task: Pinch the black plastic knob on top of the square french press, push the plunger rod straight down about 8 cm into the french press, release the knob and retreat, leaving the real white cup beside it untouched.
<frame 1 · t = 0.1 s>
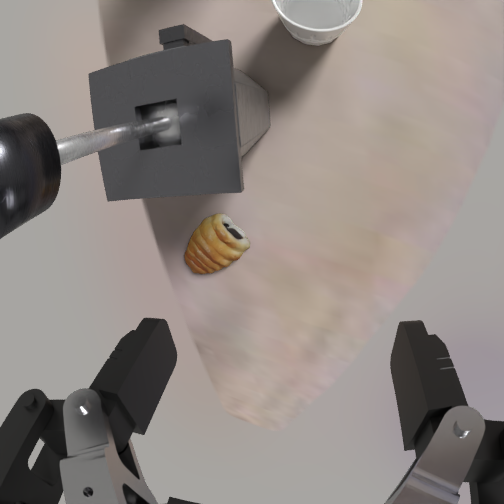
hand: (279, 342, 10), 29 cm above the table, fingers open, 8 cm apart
square french press: (226, 112, 34), on the table
pastry: (219, 241, 43), on the table
plunger: (106, 137, 13), point 25 cm above the table, slide at 0.0 cm
white cup: (313, 21, 28), on the table
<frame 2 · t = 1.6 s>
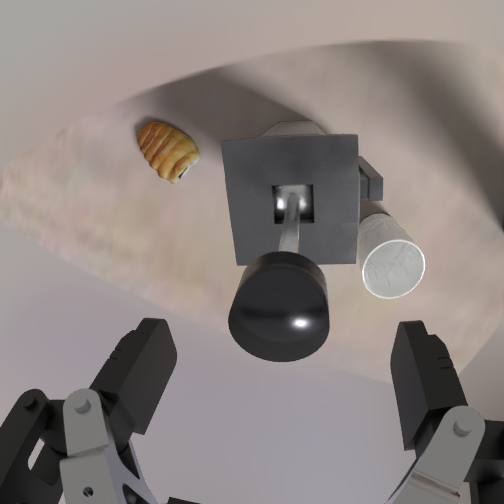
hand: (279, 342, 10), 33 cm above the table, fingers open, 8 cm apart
square french press: (297, 159, 39), on the table
pastry: (172, 150, 41), on the table
plunger: (289, 237, 18), point 25 cm above the table, slide at 0.0 cm
white cup: (377, 234, 42), on the table
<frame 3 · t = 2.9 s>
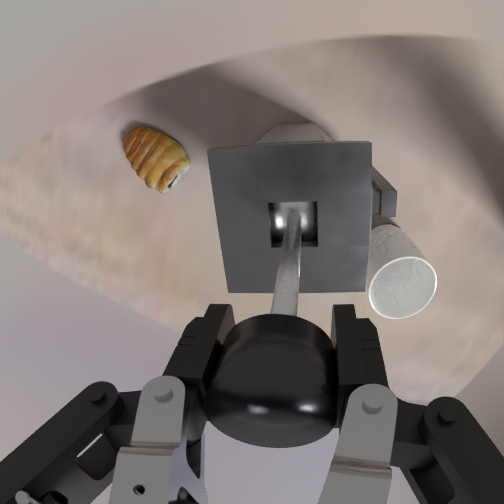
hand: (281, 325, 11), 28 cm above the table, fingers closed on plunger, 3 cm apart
square french press: (298, 165, 36), on the table
pastry: (161, 158, 38), on the table
plunger: (288, 273, 14), point 25 cm above the table, slide at 0.0 cm, touching gripper
white cup: (384, 246, 39), on the table
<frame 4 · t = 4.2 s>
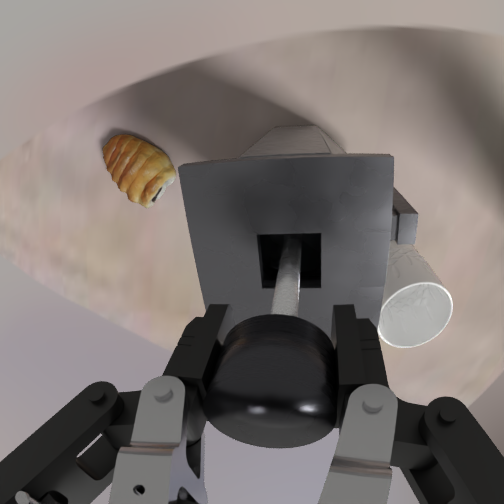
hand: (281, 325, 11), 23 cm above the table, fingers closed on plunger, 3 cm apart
square french press: (298, 173, 31), on the table
pastry: (144, 168, 34), on the table
plunger: (289, 273, 14), point 20 cm above the table, slide at 4.7 cm, touching gripper
white cup: (393, 264, 35), on the table
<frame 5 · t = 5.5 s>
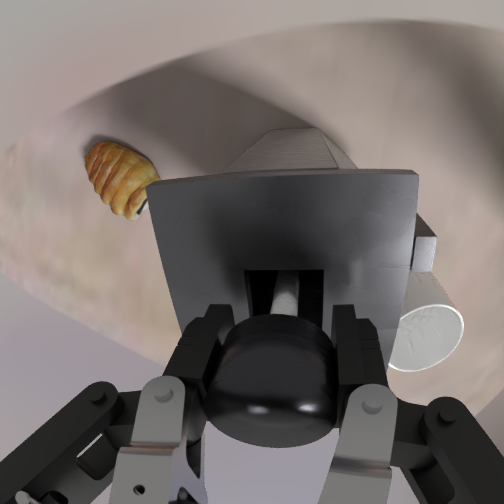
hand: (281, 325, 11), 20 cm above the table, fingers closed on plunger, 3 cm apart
square french press: (297, 181, 29), on the table
pastry: (129, 177, 32), on the table
plunger: (288, 273, 14), point 17 cm above the table, slide at 8.0 cm, touching gripper
white cup: (399, 278, 32), on the table
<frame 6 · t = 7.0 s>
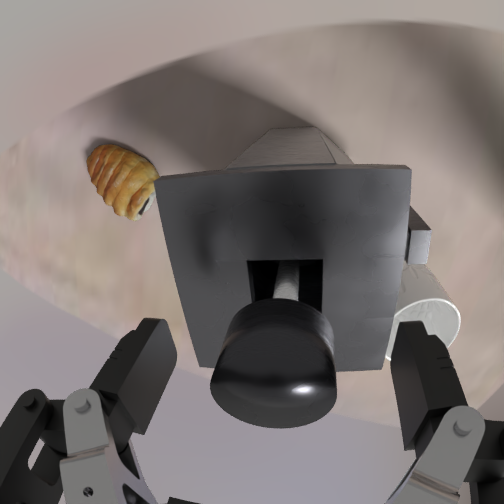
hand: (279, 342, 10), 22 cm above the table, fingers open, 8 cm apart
square french press: (297, 179, 29), on the table
pastry: (130, 179, 32), on the table
plunger: (289, 264, 15), point 17 cm above the table, slide at 8.0 cm
white cup: (396, 274, 32), on the table
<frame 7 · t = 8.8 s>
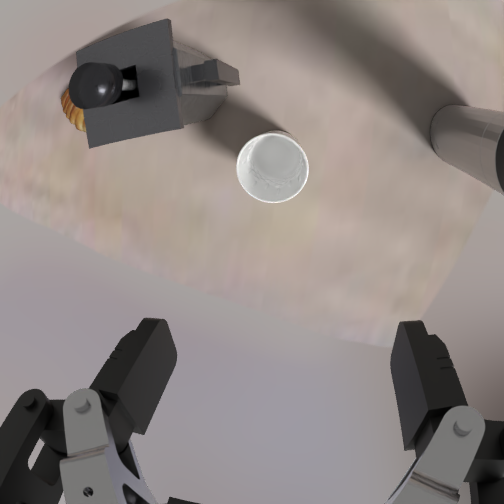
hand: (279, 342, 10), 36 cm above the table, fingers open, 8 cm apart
square french press: (190, 87, 39), on the table
pastry: (89, 108, 42), on the table
plunger: (135, 84, 24), point 17 cm above the table, slide at 8.0 cm
white cup: (277, 153, 42), on the table
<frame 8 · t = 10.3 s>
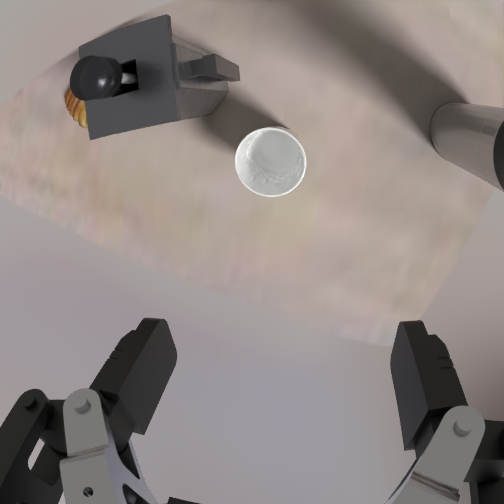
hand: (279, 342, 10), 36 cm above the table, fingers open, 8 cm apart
square french press: (192, 83, 39), on the table
pastry: (92, 105, 43), on the table
plunger: (135, 78, 25), point 17 cm above the table, slide at 8.0 cm
white cup: (277, 149, 42), on the table
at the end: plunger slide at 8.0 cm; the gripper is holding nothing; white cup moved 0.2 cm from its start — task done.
